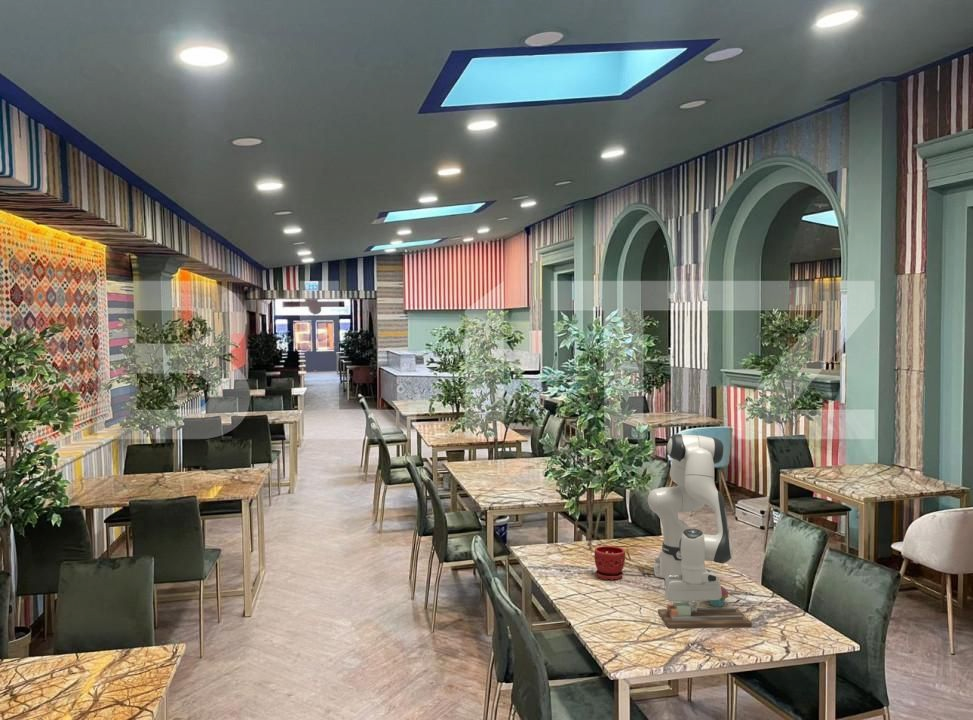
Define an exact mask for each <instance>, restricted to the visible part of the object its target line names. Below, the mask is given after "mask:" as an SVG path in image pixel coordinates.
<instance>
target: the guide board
mask: <svg viewBox="0 0 973 720" xmlns="http://www.w3.org/2000/svg"><path fill="white" fill-rule="evenodd" d="M657 613H658V615H659V616H660V618H661V620H662V621H663V623H664V624H665V626H666V627H667V628H668V629H706V628H707V629H710V628H711V629H713V628H752V627H753V623H752V622H751V620H750V619H749V618H748V617H747V616H745V614H743V612H742V611H741V610H740V609H739V608H737V607H715V608H714V607H713V608H712V607H710V608H697V612H691V616H678V610H677V609H676V607H675V606H674V605H673V602H670V603H666V608H663V609H658V610H657Z"/></svg>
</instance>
